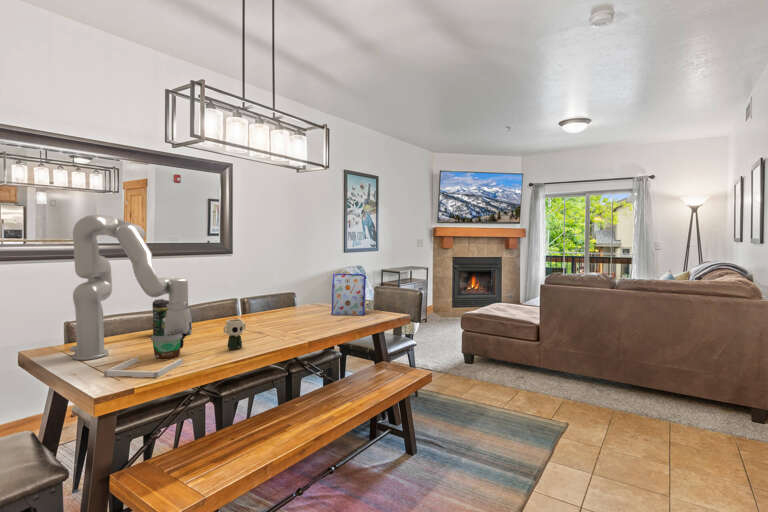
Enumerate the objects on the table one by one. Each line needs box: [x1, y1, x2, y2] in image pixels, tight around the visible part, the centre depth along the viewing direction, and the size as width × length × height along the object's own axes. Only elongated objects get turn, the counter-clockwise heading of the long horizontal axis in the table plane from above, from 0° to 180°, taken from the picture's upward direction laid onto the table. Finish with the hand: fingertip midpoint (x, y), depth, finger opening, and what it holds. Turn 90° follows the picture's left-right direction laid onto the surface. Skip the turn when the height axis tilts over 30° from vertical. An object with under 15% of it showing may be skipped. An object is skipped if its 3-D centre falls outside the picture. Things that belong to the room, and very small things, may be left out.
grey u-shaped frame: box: [104, 356, 184, 378], centre depth 161 cm, size 20×17×2 cm
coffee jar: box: [151, 298, 169, 336], centre depth 215 cm, size 10×8×19 cm
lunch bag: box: [330, 272, 367, 316], centre depth 280 cm, size 23×17×27 cm
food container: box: [150, 333, 183, 360], centre depth 176 cm, size 12×6×10 cm, turn 131°
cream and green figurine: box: [222, 318, 246, 350], centre depth 192 cm, size 11×7×13 cm, turn 141°
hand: (179, 348), depth 184 cm, fingers closed
